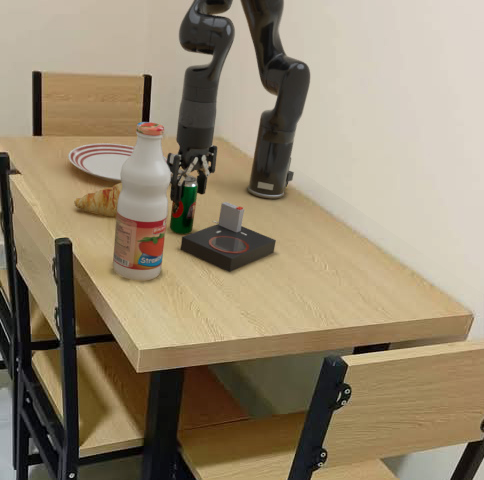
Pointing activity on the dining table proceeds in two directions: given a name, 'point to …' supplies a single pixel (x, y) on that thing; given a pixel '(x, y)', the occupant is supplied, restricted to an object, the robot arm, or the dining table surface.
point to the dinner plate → (102, 159)
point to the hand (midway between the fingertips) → (187, 197)
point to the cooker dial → (231, 216)
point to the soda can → (184, 207)
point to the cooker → (201, 249)
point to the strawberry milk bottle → (142, 207)
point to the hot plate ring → (228, 244)
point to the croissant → (101, 201)
